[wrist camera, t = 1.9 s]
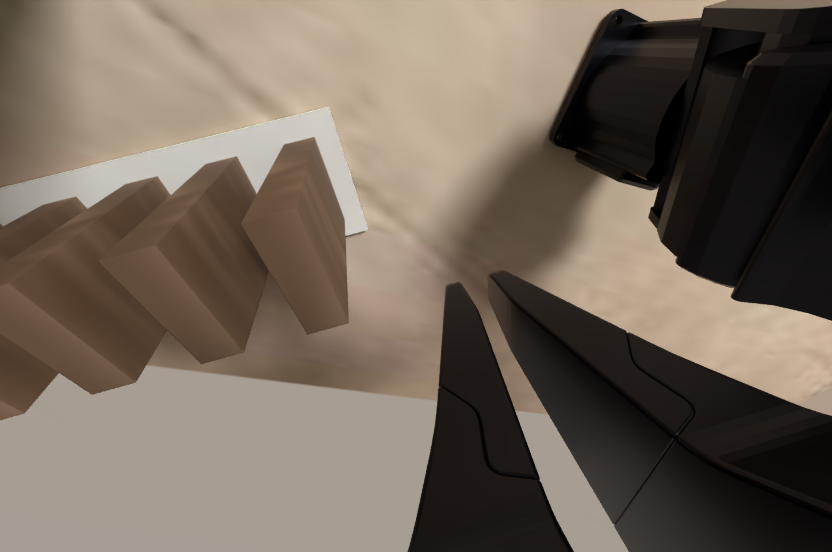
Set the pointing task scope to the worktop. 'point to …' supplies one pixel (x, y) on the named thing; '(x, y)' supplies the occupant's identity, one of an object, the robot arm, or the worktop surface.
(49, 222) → the domino
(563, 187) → the worktop surface
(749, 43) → the robot arm
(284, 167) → the domino
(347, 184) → the rack
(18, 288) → the domino
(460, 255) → the worktop surface
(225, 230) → the domino
